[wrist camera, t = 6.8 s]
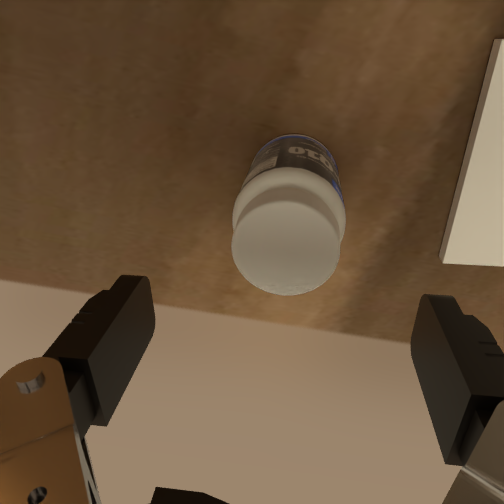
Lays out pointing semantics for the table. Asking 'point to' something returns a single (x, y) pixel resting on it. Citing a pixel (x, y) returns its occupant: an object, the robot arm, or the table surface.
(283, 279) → the pill bottle
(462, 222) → the two-dot pad
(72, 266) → the table surface
